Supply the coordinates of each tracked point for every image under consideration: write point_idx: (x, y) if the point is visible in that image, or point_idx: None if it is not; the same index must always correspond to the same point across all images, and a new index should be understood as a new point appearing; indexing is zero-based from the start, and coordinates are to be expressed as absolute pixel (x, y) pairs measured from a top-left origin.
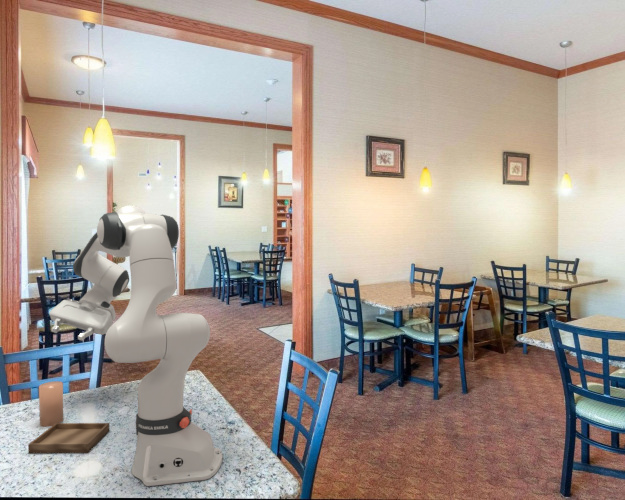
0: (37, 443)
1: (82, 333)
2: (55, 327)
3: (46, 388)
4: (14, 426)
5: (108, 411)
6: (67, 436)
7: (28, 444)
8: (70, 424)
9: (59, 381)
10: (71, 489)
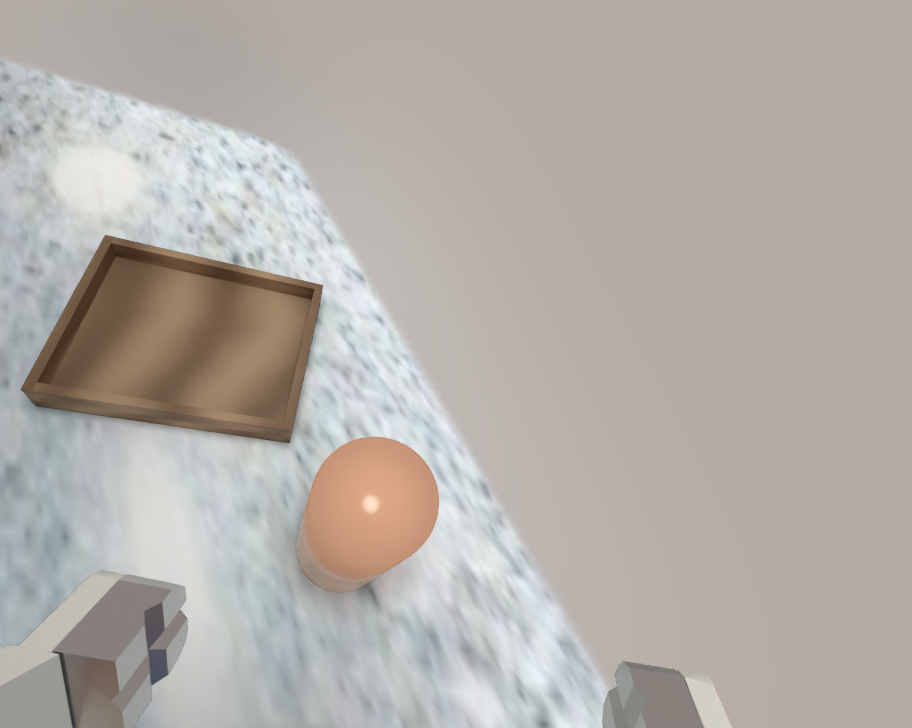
0: (295, 283)
1: (72, 645)
2: (676, 711)
3: (375, 437)
4: (475, 515)
5: None
6: (216, 357)
7: (322, 285)
8: (221, 412)
9: (349, 560)
10: (129, 112)
